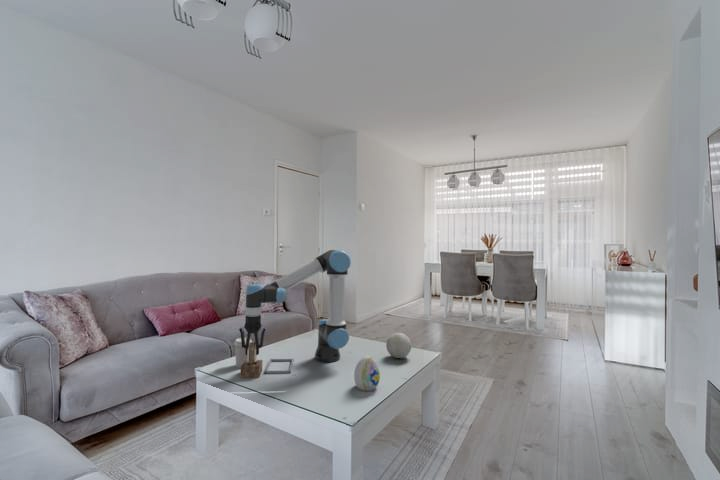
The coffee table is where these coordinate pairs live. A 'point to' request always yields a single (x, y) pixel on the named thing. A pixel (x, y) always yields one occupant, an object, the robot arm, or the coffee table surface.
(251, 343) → the dowel
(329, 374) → the coffee table surface
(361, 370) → the decorative egg
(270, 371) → the gray rectangular frame
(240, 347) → the coffee cup
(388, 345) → the decorative sphere
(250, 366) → the cup block
